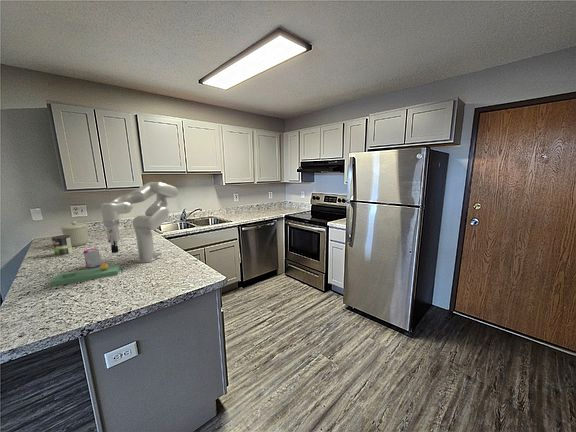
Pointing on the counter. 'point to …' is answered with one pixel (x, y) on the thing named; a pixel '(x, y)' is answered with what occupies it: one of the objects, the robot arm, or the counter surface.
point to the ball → (104, 266)
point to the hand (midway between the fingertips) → (115, 252)
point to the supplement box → (92, 258)
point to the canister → (76, 233)
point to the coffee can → (62, 245)
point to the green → (84, 275)
